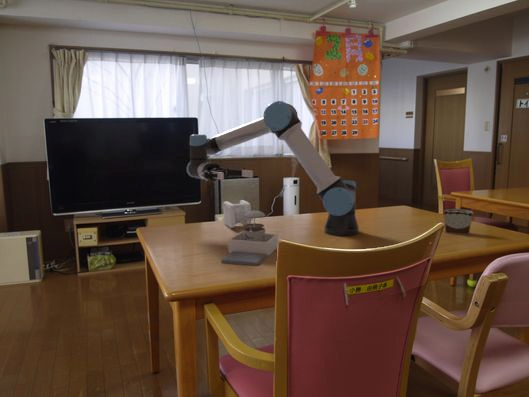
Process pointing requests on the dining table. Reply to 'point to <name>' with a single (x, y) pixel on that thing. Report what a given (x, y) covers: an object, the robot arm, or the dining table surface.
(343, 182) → the robot arm
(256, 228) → the french press
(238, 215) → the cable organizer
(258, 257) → the rubber mat
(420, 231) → the dining table surface
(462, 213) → the food container
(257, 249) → the white open storage bin
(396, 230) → the dining table surface
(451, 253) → the dining table surface
